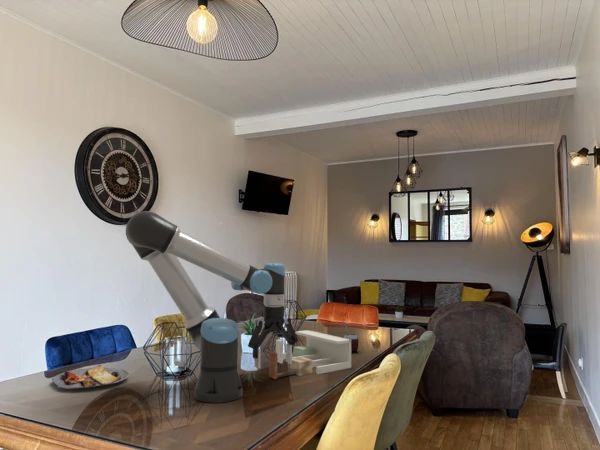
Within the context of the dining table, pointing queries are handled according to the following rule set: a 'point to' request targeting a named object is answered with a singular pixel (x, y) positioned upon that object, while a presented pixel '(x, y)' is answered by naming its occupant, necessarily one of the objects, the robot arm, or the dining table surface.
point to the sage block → (297, 351)
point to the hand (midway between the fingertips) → (273, 365)
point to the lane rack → (326, 351)
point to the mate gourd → (352, 340)
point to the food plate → (90, 377)
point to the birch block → (296, 367)
